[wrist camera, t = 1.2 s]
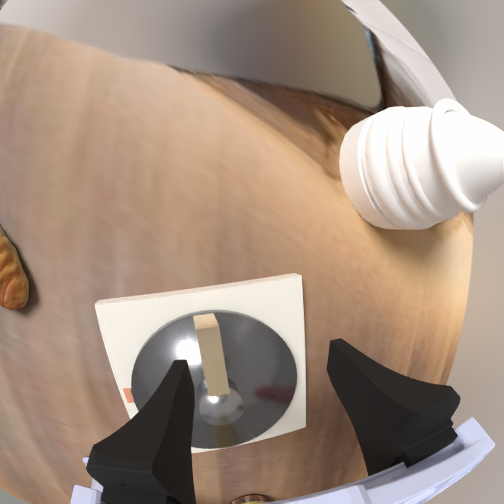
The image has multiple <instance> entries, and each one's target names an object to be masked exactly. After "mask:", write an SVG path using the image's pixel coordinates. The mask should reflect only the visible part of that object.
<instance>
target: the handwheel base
mask: <svg viewBox="0 0 504 504" xmlns="http://www.w3.org/2000/svg"><path fill="white" fill-rule="evenodd" d="M95 309H96V313H97V317H98V322H99V326H100V329H101V333H102V337H103V341H104V344H105V348H106V351H107V355H108V358H109V361H110V364H111V367H112V371H113V374H114V377H115V379H116V382H117V385H118V388H119V391H120V393H121V396H122V399H123V401H124V404H125V406H126V409H127V411H128V414H129V416H130V419H132V418H133V417H134V416H135V415H136V414H137V413H138V412H139V411H138V409H137V407H136V405H135V403H134V399H133V396H132V389H131V376H132V371H133V367H134V363H135V360H136V357H137V355H138V353H139V351H140V349H141V348H142V346H143V344H144V343H145V342H146V341H147V339H148V338H149V337H150V336H151V335H152V334H153V333H154V332H155V331H157V330H158V329H159V328H160V327H162V326H163V325H165V324H166V323H168V322H170V321H172V320H174V319H176V318H178V317H180V316H183V315H186V314H189V313H194V312H198V311H205V310H228V311H235V312H240V313H243V314H247V315H249V316H252V317H254V318H256V319H259V320H260V321H262V322H264V323H265V324H267V325H268V326H269V327H271V328H272V329H273V330H274V331H275V332H276V333H277V334H278V335H279V336H280V337H281V338H282V339H283V340H284V341H285V342H286V344H287V345H288V347H289V348H290V350H291V352H292V355H293V357H294V360H295V363H296V368H297V385H296V390H295V393H294V396H293V399H292V401H291V403H290V405H289V407H288V409H287V410H286V412H285V413H284V415H283V416H282V417H281V418H280V419H279V421H278V422H277V423H276V424H274V425H273V426H272V427H271V428H270V429H269V430H267V431H266V432H265V433H263V434H261V435H260V436H258V437H256V438H254V439H252V440H250V441H248V442H245V443H242V444H247V443H251V442H256V441H260V440H264V439H267V438H271V437H275V436H278V435H282V434H285V433H289V432H292V431H295V430H298V429H301V428H304V427H306V367H305V333H304V310H303V291H302V276H301V275H298V274H296V273H292V274H286V275H280V276H274V277H267V278H261V279H255V280H248V281H242V282H235V283H228V284H221V285H214V286H207V287H200V288H193V289H186V290H178V291H170V292H163V293H155V294H147V295H139V296H130V297H122V298H113V299H104V300H99V301H98V302H97V303H96V304H95ZM242 444H240V445H242ZM236 446H238V445H236ZM232 447H233V446H232ZM227 448H228V447H227ZM220 449H222V448H220ZM211 450H217V449H201V448H194V447H191V453H197V452H204V451H211Z"/></svg>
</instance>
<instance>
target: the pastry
mask: <svg viewBox="0 0 504 504" xmlns="http://www.w3.org/2000/svg"><path fill="white" fill-rule="evenodd" d="M28 296H29V282H28V279H27V276H26V274H25V273H24V270H23V268H22V265H21V262H20V260H19V257H18V253H17V250H16V248H15V247H14V246H13V245H12V244H11V242H10V240H9V239H8V237H7V236H6V234H5V232H4V231H3V229H2V228H1V227H0V305H1V306H3V307H5V308H7V309H9V310H14V309H18V308H22V307H24V306H25V304H26V303H27V300H28Z"/></svg>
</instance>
